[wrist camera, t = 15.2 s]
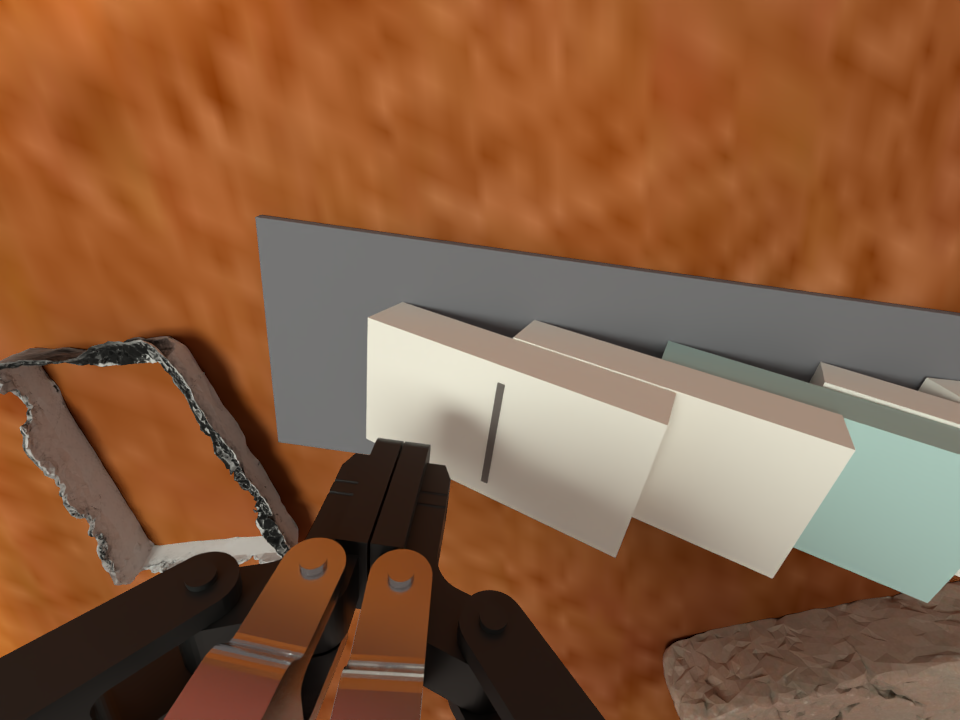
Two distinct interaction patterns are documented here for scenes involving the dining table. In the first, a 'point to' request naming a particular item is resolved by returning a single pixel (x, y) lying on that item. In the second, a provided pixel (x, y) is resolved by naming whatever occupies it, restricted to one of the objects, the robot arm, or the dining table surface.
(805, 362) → the runner
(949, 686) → the brick
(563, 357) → the tile
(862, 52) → the dining table surface
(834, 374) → the tile
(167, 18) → the dining table surface
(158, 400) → the dining table surface
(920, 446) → the teal tile
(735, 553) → the tile
